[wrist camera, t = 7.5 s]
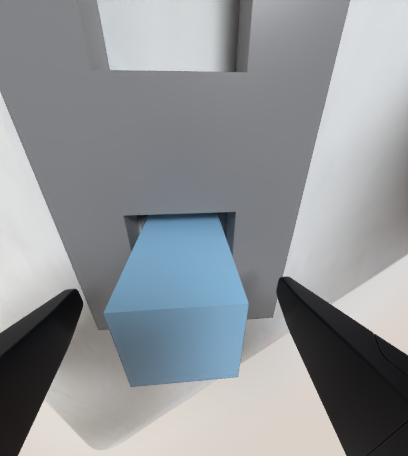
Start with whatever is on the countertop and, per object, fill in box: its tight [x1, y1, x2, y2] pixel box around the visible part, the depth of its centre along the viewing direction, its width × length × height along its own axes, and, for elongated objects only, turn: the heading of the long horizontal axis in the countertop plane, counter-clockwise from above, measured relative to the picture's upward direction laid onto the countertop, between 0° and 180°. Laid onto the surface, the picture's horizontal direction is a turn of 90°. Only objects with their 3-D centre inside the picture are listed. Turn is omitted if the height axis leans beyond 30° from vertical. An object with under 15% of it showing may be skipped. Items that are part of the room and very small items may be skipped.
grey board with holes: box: [0, 0, 350, 330], centre depth 9 cm, size 12×22×2 cm, turn 0°
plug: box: [104, 212, 249, 387], centre depth 9 cm, size 4×5×7 cm
